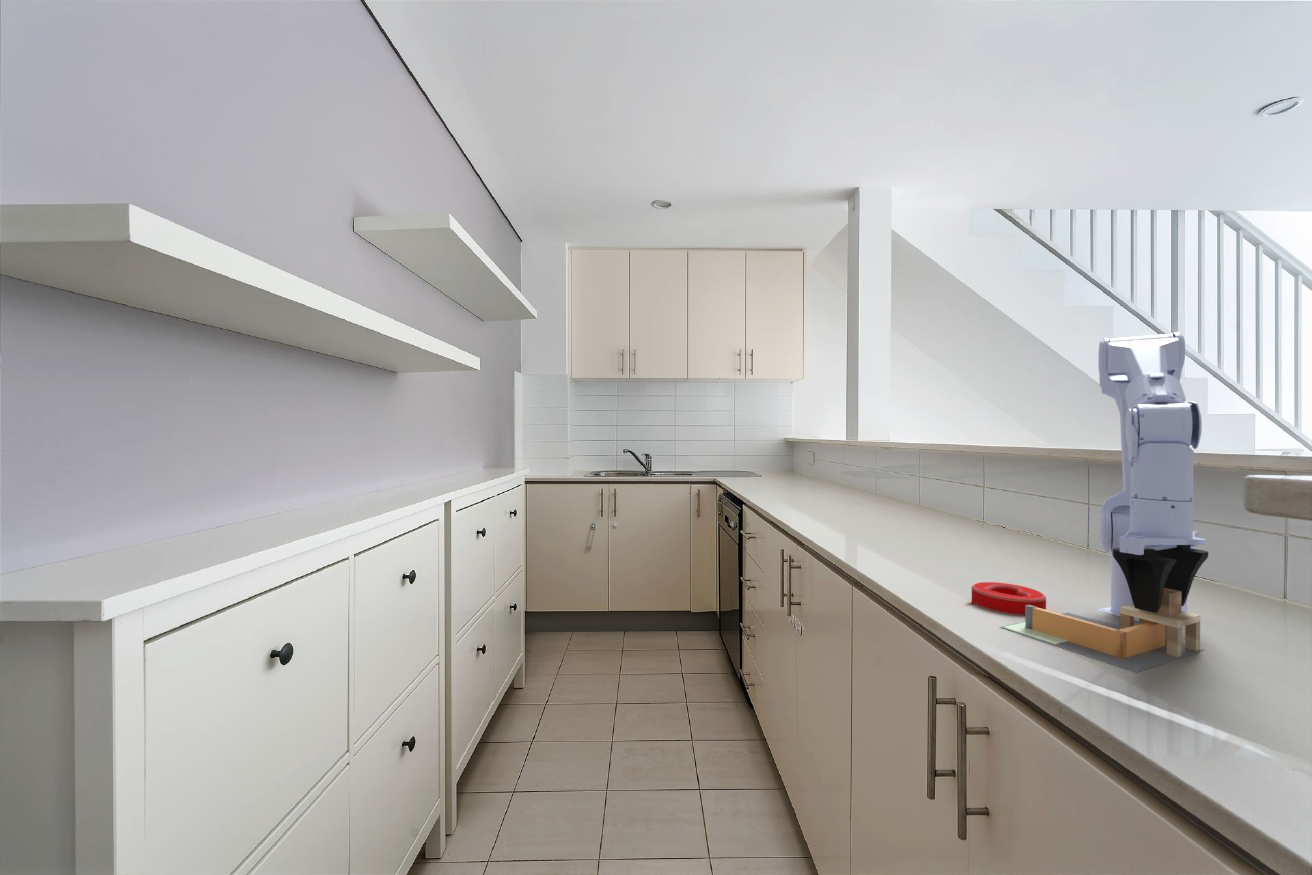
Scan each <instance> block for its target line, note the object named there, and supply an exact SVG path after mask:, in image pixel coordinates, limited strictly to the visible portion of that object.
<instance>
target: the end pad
mask: <svg viewBox="0 0 1312 875" xmlns="http://www.w3.org/2000/svg"><path fill="white" fill-rule="evenodd" d="M1022 622H1023V623H1021V622H1018V623H1019V624H1017V623H1014V625H1012V624H1009V625H1010V626H1007V625H1004V626H1005V627H1003V626H1002V627H1003V628H1006V629H1009V630H1012V631H1015V632H1018V633H1021V634H1024V635H1027V636H1030V637H1033V638H1036V639H1039V640H1042V641H1045V642H1048V643H1051V644H1054V645H1056V644H1060V643H1064V642H1068V640H1065V639H1061V638H1058V637H1055V636H1052V635H1049V634H1046V633H1042V632H1039V631H1036V630H1033V629H1028V628H1026V627H1025V621H1022ZM1039 640H1038V641H1039ZM1042 641H1041V642H1042ZM1045 642H1044V643H1045ZM1048 643H1047V644H1048ZM1051 644H1050V645H1051ZM1054 645H1053V646H1054Z"/></svg>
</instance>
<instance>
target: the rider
mask: <svg viewBox="0 0 1312 875" xmlns="http://www.w3.org/2000/svg"><path fill="white" fill-rule="evenodd" d="M1134 617H1137V618H1139V621H1138V625H1139V624H1143V623H1147V622H1151V621H1153V622H1157V623H1161V624H1164V625H1167V654H1168V655H1171V656H1175V657H1180V656H1182V644H1183V642H1182V641H1183V627H1185V629H1184V630H1185V634H1184V641H1185V642H1184V644H1185V648H1186V649H1190V650H1193V651H1198V650H1200V649H1201V614H1197V613H1193V612H1189V611H1187V612H1185V611H1181V591H1177V590H1172V589H1167V588H1164V590H1163V597H1162V602H1161V606H1160V609H1159V611H1158V612H1157V613H1153V612H1149V611H1145V610H1141V609H1137V608H1135V607H1134V604H1132V605H1127V606H1123V607H1120V616H1119V627H1120V629H1124V628H1128V627H1132V626H1135V620H1134Z"/></svg>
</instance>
